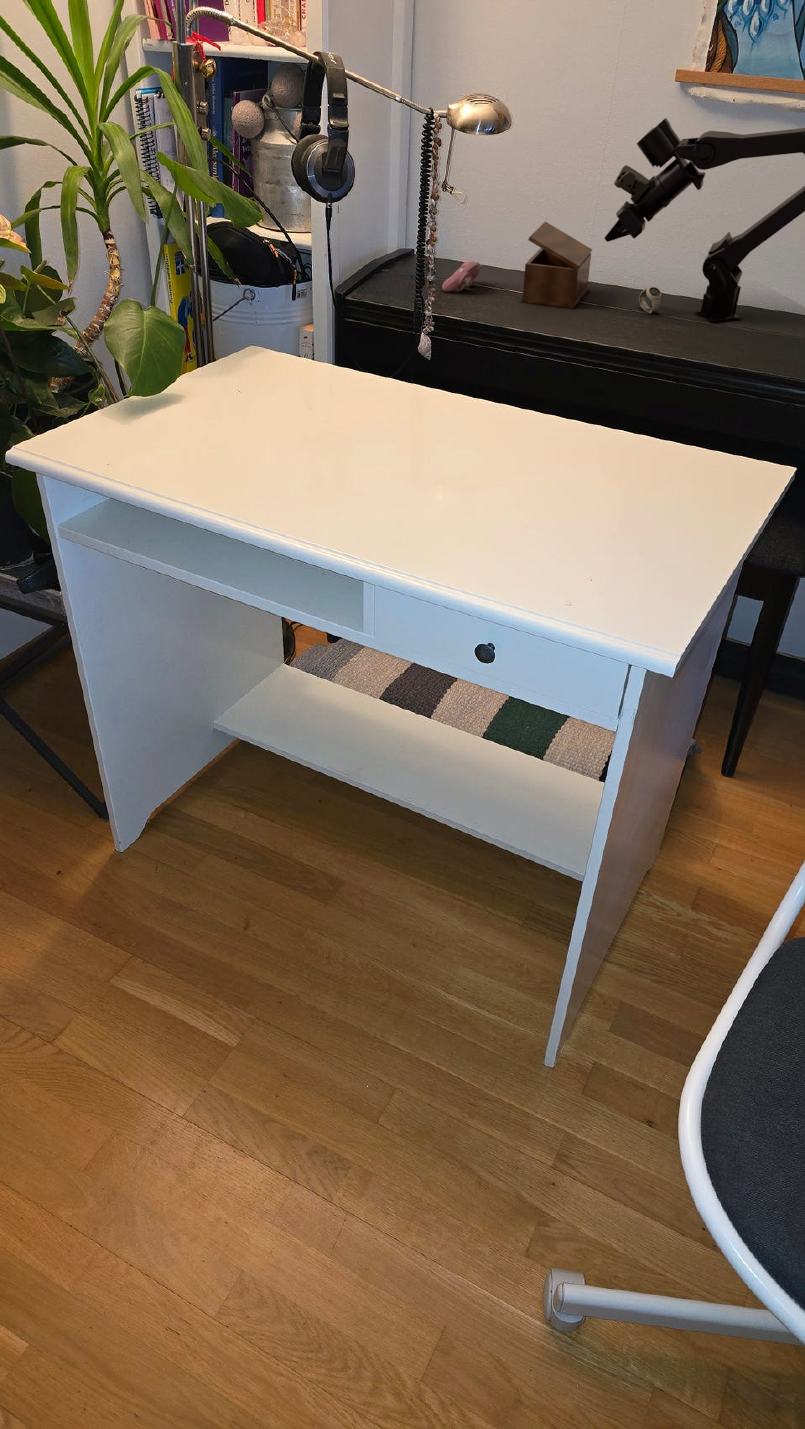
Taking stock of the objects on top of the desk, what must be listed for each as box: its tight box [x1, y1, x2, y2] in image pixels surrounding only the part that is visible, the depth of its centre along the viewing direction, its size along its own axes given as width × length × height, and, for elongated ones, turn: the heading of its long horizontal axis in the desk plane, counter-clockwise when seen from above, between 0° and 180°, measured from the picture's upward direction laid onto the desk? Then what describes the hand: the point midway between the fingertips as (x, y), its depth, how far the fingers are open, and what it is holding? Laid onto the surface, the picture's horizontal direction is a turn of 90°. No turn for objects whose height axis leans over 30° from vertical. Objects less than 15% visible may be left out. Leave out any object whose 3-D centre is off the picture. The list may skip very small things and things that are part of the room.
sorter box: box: [522, 247, 592, 309], centre depth 218 cm, size 12×13×8 cm
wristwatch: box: [638, 285, 662, 315], centre depth 212 cm, size 4×6×5 cm, turn 20°
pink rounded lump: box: [441, 259, 483, 293], centre depth 223 cm, size 10×5×7 cm, turn 148°
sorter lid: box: [527, 220, 593, 269], centre depth 214 cm, size 12×13×1 cm
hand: (605, 239), depth 210 cm, fingers closed
